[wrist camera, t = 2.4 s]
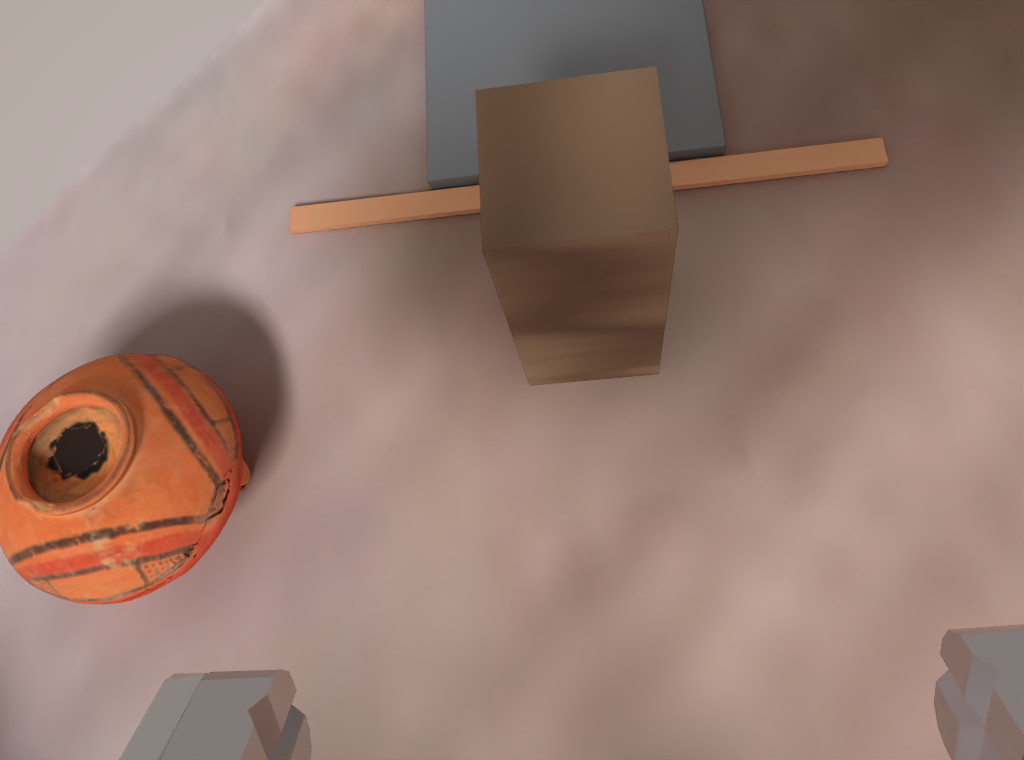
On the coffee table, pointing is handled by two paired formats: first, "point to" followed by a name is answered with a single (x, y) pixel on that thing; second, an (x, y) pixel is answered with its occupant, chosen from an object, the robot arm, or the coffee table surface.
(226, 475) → the pot
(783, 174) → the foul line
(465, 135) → the mat
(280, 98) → the coffee table surface
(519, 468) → the coffee table surface
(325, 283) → the coffee table surface
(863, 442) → the coffee table surface
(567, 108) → the wooden square post
